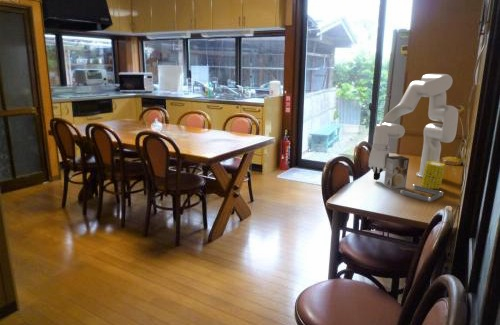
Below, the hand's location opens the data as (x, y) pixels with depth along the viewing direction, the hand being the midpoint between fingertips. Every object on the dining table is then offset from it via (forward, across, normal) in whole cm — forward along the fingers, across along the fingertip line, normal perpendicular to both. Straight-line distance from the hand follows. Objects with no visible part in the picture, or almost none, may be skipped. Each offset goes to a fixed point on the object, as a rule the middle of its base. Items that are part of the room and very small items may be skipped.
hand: (376, 179), depth 205 cm
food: (+2, -24, -15) cm, 28 cm away
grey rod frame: (+1, -26, +2) cm, 26 cm away
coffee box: (+2, -11, 0) cm, 11 cm away
